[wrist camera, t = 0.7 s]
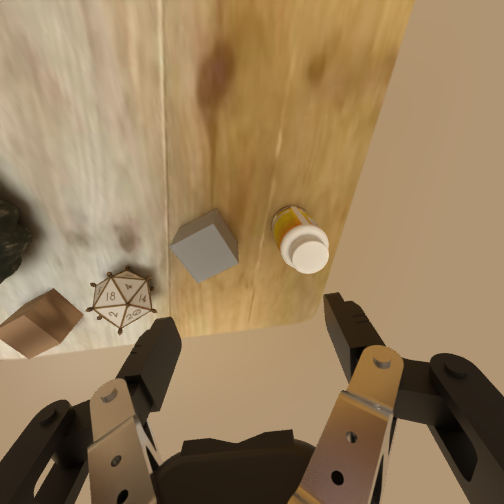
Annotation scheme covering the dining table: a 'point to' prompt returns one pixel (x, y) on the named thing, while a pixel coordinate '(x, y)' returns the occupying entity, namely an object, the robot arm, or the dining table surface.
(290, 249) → the supplement bottle
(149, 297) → the game die
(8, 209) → the squash
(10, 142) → the dining table surface
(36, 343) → the walnut cube
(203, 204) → the dining table surface
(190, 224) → the slate cube
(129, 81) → the dining table surface
